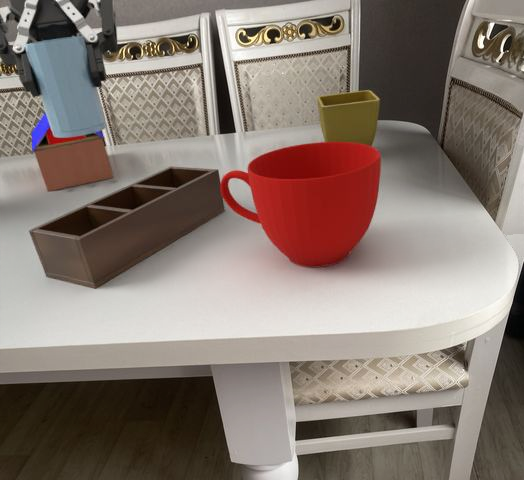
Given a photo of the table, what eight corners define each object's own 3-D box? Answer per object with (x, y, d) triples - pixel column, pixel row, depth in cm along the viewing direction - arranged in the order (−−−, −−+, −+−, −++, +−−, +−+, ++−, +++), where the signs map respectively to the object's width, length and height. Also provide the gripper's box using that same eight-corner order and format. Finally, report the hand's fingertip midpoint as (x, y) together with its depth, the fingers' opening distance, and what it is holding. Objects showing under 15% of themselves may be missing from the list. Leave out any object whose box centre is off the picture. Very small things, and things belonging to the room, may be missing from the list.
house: (46, 192, 90) (20, 119, 84) (43, 167, 106) (22, 104, 99) (115, 177, 93) (96, 106, 86) (102, 155, 109) (85, 93, 102)
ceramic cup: (252, 227, 65) (241, 144, 60) (390, 232, 59) (392, 139, 54) (206, 274, 56) (188, 180, 50) (365, 285, 50) (364, 179, 44)
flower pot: (380, 160, 83) (380, 98, 78) (324, 167, 83) (321, 105, 78) (370, 147, 90) (370, 89, 85) (319, 153, 91) (316, 96, 86)
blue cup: (42, 137, 59) (12, 45, 54) (82, 124, 63) (57, 38, 58) (78, 138, 56) (49, 41, 51) (117, 124, 60) (95, 34, 55)
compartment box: (46, 276, 60) (28, 230, 57) (178, 205, 76) (170, 166, 73) (95, 288, 56) (79, 239, 53) (225, 210, 72) (218, 169, 69)
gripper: (-43, -69, 54) (-21, 71, 51) (97, -85, 56) (127, 49, 53) (-12, -6, 61) (9, 120, 58) (111, -22, 63) (139, 99, 60)
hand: (65, 86), depth 56 cm, fingers closed on blue cup, 6 cm apart
